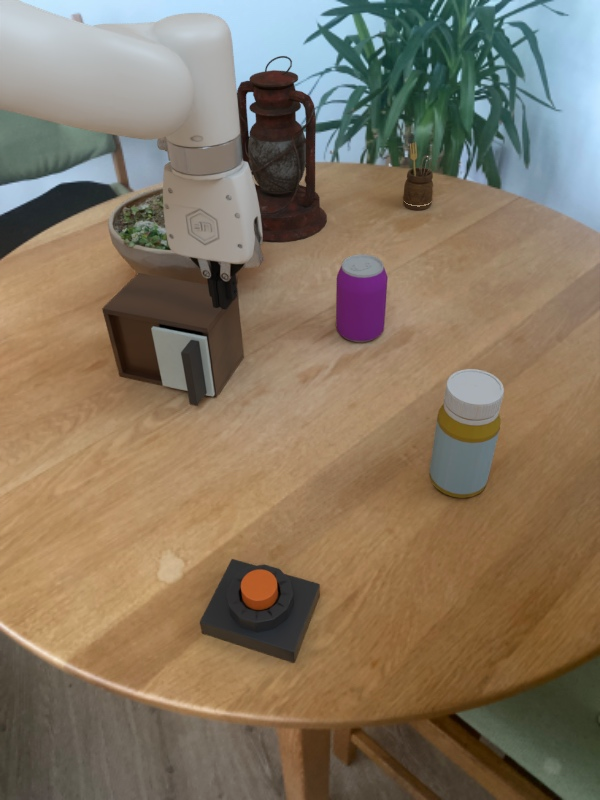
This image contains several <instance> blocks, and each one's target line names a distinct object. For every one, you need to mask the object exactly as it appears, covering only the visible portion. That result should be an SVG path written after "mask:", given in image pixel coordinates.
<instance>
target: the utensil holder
mask: <svg viewBox="0 0 600 800" xmlns="http://www.w3.org/2000/svg"><path fill="white" fill-rule="evenodd" d="M417 149H418V148H417V142H416V141H415V142H412V143H409V157H410V160H411V161H412V166H413V167H412V168H410V169H408V171H407V173H406V180H405V182H404V187H403V198H402V199H403V200H404V201H405V202H406V203H408V204H412V205H424V204H428V203H430V202H431V201H433V193H434V182H433V177H434V175H433V171H432V168H426V167H423V161H424V160H425V159H426V158H427V159H426V160H425V166H427V163H428V160H429V161H432V160H433V159H432V158H431V156H429V155H424V156H423V158H422V160H421V161H419V164H420V165H419V166H418V167H416V160H417V159H418V150H417ZM428 167H432V162H429V166H428ZM403 200H402V201H403ZM404 201H403V206H404V207H405V208H407V209H409V210H412V211H423V210H426V209H428V208H430V207H431V205H432V202H431V203H430V204H429V205H426V206H420V207H417V206H411V205H408V204H406V203H405V202H404Z"/></svg>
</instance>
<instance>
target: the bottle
mask: <svg viewBox="0 0 600 800" xmlns="http://www.w3.org/2000/svg"><path fill="white" fill-rule="evenodd" d="M444 390H445V391H444V396H443V397H444V398H443V403H442V404H441V406H440V408H439V409H438V413H437V419H436V423H435V430H434V437H433V444H432V449H431V450H432V452H431V457H430V465H429V473H428V474H429V475H428V476H429V479H430V481H431V483H432V484H433V486H434V487H435V488H436V489H437V490H439V491H440V492H441V493H443V494H444V495H447V496H449V497H452V498H456V499H467V498H471V497H474V496H476V495H479V494H480V493H481V492H483V491H484V490H485V488H486V486H487V483H488V481H489V476H490V472H491V468H492V464H493V459H494V455H495V452H496V447H497V442H498V438H499V434H500V430H501V422H502V421H501V420H502V419H501V416H500V410H501V407H502V403H503V400H504V395H505V394H504V393H505V389H504V385H503V383H502V381H501V380H500V378H498V377H497V376H495V375H494V374H493V373H490V372H488V371H486V370H481V369H477V368H476V369H475V368H466V369H461V370H457V371H455V372H454V373H452V374H451V375H450V376H449V377H448V379H447V381H446V384H445V389H444Z"/></svg>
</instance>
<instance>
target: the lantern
mask: <svg viewBox="0 0 600 800" xmlns="http://www.w3.org/2000/svg"><path fill="white" fill-rule="evenodd" d="M278 59H288V61H289V62H290V63H289V64H290V65H289V66H288V68H287V70H277V69H276V70H275V69H272V70H268V67H269V66H270V65H271V63H273V62H274V61H276V60H278ZM292 67H293V60H292V59H291V58H290V57H289V56H287V55H280V56H276V57H274V58H272V59H271V60H270V61H269V62H268V63H267V64H266V66H265V69H264V71H261V72H256V73H254V74H252V75H251V76H249V79H248V80H244V81H241V82H240V83H239V86H238V88H237V100H238V111H239V122H240V133H241V144H242V155H243V161H245V162H248V164H249V167H250V170H251V173H252V177H253V179H254V184H255V188H256V192H257V197H258V202H259V208H260V214H261V223H262V236H263V238H262V242H267V243H286V242H288V243H289V242H295V241H299V240H304V239H307V238H309V237H312V236H315V235H316V234H317V233H320V232H321V231H322V230H323V229H324V228H325V226H326V224H327V223H328V220H327V219H328V217H327V216H328V215H327V213H326V212H325V210H324V209H323V208H322V207H321V205H320V201H321V199H320V198H321V197H320V195H319V193H318V192H317V191H316V131H317V129H316V128H317V127H316V126H317V124H316V123H317V118H316V108H315V104H314V101H313V99H312V97H311V96H310V95H308V93H305V92H303V91H301V90H296V87H295V83H296V82H298V81H299V75H298V74H297V73H295V72H292V71H290V70H291V68H292ZM248 93H252V96H253V99H254V102H252V103H251V104H250V105H249V111H250V112H251V113H253V114H255V123H253V125H251V127H250V130H249V122H248V109H247V95H248ZM302 106H303V108H304V112H305V113H304V115H305V123H304V125H303V126H302V125H301V124H300V123H299V122H298V120H297V118H296V117H297V113H296V112H298V111H299V110H301V108H302ZM304 130H305V133H304ZM304 173H305V176H304ZM303 177H304V183H305V185H302V184H300V183H301V181H302V179H303ZM255 182H256V183H255Z"/></svg>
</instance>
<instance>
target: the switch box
mask: <svg viewBox="0 0 600 800" xmlns="http://www.w3.org/2000/svg"><path fill="white" fill-rule="evenodd" d="M258 569H262V570H267V571H269V572H271V573H272V574H273V575H274V576H275V578H276V580H277V587H278V597H277V600H276V602H275V603H274V604H273V605H272V606H271V607H269V608H267V609H264V610H254V609H251V608H249V607H248V606H247V605H246V604H245V603H244V601H243V599H242V592H241V582H242V580H243V578H244V577H245V575H246V574H248V573H249V572H251V571H254V570H258ZM320 586H321V584H320V583H318V582H314V581H311V580H307V579H304V578H301V577H297V576H293V575H290V574H287V573H284V572H283V571H282V570H281V569H280V568H279V567H274V566H272V565H271V566H270V565H268V564H258V565H256V564H251V563H249V562H244V561H241V560H238V559H235V558H231V560H230V561H229V563H228V566H227V567H226V569H225V571H224V573H223V575H222V577H221V579H220V581H219V583H218V585H217V587H216V589H215V591H214V592H213V595H212V597H211V599H210V600H209V603H208V604H207V607H206V608H205V610H204V612H203V614H202V617H200V621H199V625H200V629H201V633H202V634H203V635H206V636H209V637H212V638H215V639H219V640H222V641H224V642H228V643H230V644H234V645H237V646H240V647H243V648H246V649H249V650H253V651H255V652H259V653H262V654H265V655H268V656H270V657H274V658H277V659H280V660H283V661H286V662H290V663H292V664H295V663H296V660H297V657H298V655H299V652H300V650H301V647H302V645H303V643H304V639H305V636H306V634H307V631H308V629H309V626H310V623H311V621H312V618H313V615H314V613H315V610H316V607H317V604H318V602H319V599H320V597H321V587H320Z"/></svg>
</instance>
